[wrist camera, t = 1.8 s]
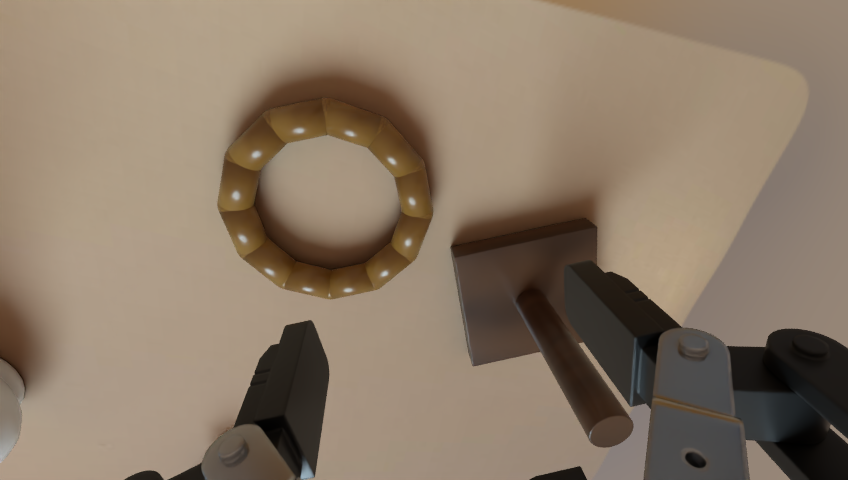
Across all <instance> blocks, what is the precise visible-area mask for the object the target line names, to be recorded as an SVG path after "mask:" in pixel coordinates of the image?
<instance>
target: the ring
mask: <svg viewBox="0 0 848 480" xmlns="http://www.w3.org/2000/svg"><path fill="white" fill-rule="evenodd" d="M324 135H330V136H333V137H336V138H339V139H342V140H345V141H348V142H351V143H354V144H358V145H361V146H364V147H367V148H368V149H369V150H370V151H371V152H372V153H373V154H374V155H375V156H376V157H377V158H378V160H379V161H380V162H381V163H382V164H383V165H384V166H385V167H386V168H387V169H388V170H389V171H390V172H391V173H392V175H393V176H394V177H395V182H396V186H397V191H398V195H399V200H400V204H401V209H402V212H401V215H400V218H399V221H398V223H397V226H396V229H395V232H394V235H393V238H392V241H391V242H390V243H389V244H388V245H386V246H385V247H384V248H383V249H382V250H380V251H379V252H378V253H377V254H376V255H374V256H373V257H372V258H371V259H370V260H368V261H367V262H366V263H362V264H357V265H352V266H348V267H343V268H338V269H334V270H330V269H326V268H322V267H318V266H314V265H309V264H305V263H301V262H297V261H295V260H294V259H293V258H291V257H290V256H289V255H288V254H287V253H285V252H284V251H283V250H282V249H281V248H279V247H278V246H277V245H276V244H275V243H273V242H272V241H271V240H270V239H269V238H267V235H266V233H265V230H264V228H263V225H262V223H261V220H260V218H259V215H258V213H257V210H256V208H255V205H254V202H255V196H256V191H257V186H258V181H259V176H260V171H261V169H262V168H263V167H264V166H265V165H266V164H267V163H268V162H269V161H270V160H271V159H272V158H273V157H274V156H275V155H276V154H277V153H278V152H279V151H280V150H281V149H282V148H283V147H284V146H285V145H286V144H287V143H291V142H295V141H300V140H305V139H310V138H315V137H319V136H324ZM217 205H218V210H219V212H220V214H221V217H222V219H223V221H224V223H225V226H226V228H227V230H228V232H229V235H230V237H231V239H232V241H233V244H234V246H235V248H236V250H237V253H238V254H239V256H240V257H241V258H242V259H244V260H245V261H246V262H247V263H249V264H250V265H251V266H253V267H254V268H255V269H256V270H258V271H259V272H260V273H262V274H263V275H264V276H265V277H267V278H268V279H269V280H271V281H272V282H273V283H274V284H276V285H277V286H278V287H280V288H282V289H285V290H290V291H294V292H299V293H303V294H308V295H312V296H316V297H321V298H325V299H336V298H341V297H346V296H350V295H355V294H360V293H364V292H369V291H373V290H377V289H379V288H381V287H382V286H384V285H385V284H386V283H387V282H388V281H390V280H391V279H392V278H393V277H395V276H396V275H397V274H398V273H400V272H401V271H402V270H403V269H404V268H406V267H407V266H408V265H409V264H411V263H412V262H413V261H414V260H415V259H416V257H417V255H418V253H419V250H420V248H421V245H422V242H423V240H424V237H425V235H426V232H427V229H428V227H429V224H430V222H431V219H432V216H433V206H432V201H431V196H430V190H429V185H428V179H427V174H426V169H425V164H424V161H423V160H422V158H421V157H420V156H419V155H418V154H417V152H416V151H415V150H414V149H413V148H412V147H411V146H410V144H409V143H408V142H407V141H406V140H405V139H404V138H403V136H402V135H401V134H400V133H399V132H398V131H397V130H396V128H395V127H394V126H393V125H392V124H391V123H390V122H389V121H388V120H387V119H386V118H385V117H383V116H381V115H378V114H375V113H372V112H369V111H366V110H363V109H360V108H357V107H355V106H352V105H349V104H346V103H343V102H340V101H337V100H334V99H331V98H320V99H316V100H311V101H306V102H301V103H296V104H291V105H286V106H282V107H277V108H272V109H269V110H266V111H265V112H264V113H263V114H262V115H261V116H260V117H259V118H258V119H257V120H256V121H255V122H254V123H253V124H252V125H251V126H250V127H249V128H248V129H247V130H246V131H245V132H244V133H243V134H242V135H241V136H240V137H239V138H238V139H237V140H236V141H235V142H234V143H233V144H232V145H231V146H230V147H229V148H228V150H227V151H226V153H225V158H224V164H223V170H222V177H221V183H220V190H219V196H218V204H217Z"/></svg>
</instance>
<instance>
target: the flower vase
mask: <svg viewBox="0 0 848 480" xmlns="http://www.w3.org/2000/svg"><path fill="white" fill-rule="evenodd" d="M24 394H25V387H24V383H23V380H22V378H21V377H20V375H19V374H18V372H17V371H16V370H15V369H14V368H13V367H12V366H11V365H10V364H9V363H7V362H6V361H4V360H3V359H1V358H0V463H1V462H2V461H3V460H4V459H5V458H6V457H7V456H8V455H9V453H10V452H11V450H12V449H13V447H14V446H15V444H16V443H17V441H18V439H19V436H20V431H21V423H22V411H21V408H20V404H21V402H22V401H23V399H24Z"/></svg>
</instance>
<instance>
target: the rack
mask: <svg viewBox="0 0 848 480" xmlns="http://www.w3.org/2000/svg"><path fill="white" fill-rule="evenodd" d="M451 254H452V260H453V266H454V271H455V277H456V283H457V289H458V295H459V300H460V306H461V312H462V318H463V324H464V329H465V335H466V341H467V347H468V353H469V356H470V359H471V362H472V366H478V365H482V364H487V363H491V362H496V361H500V360H505V359H509V358H514V357H518V356H523V355H528V354H532V353H537V352H541V353H542V355H543V357H544V358H545V360H546V362H547V364H548V366H549V368H550V369H551V371H552V373H553V375H554V377H555V378H556V380H557V382H558V384H559V386H560V388H561V389H562V391H563V393H564V395H565V397H566V398H567V400H568V402H569V404H570V406H571V408H572V409H573V411H574V413H575V415H576V417H577V418H578V420H579V422H580V424H581V426H582V427H583V429H584V431H585V433H586V435H587V437H588V438H589V440H590V442H591V443H592V444H593V445H595V446H597V447H603V448H605V447H612V446H615V445H618V444H620V443H621V442H623V441H624V440H625V439H627V438H628V437H629V436H630V434H631V433H632V431H633V422H632V420H631V418H630V417H629V416H628V414H627V413H626V411H625V410H624V408H623V407H622V405H621V404H620V403H619V401H618V400H617V398H616V397H615V395H614V394H613V393H612V391H611V390H610V388H609V387H608V385H607V384H606V383H605V381H604V380H603V378H602V377H601V375H600V374H599V372H598V371H597V370H596V368H595V367H594V365H593V364H592V362H591V361H590V360H589V358H588V357H587V355H586V354H585V352H584V351H583V349H582V348H581V347H580V345H579V344H578V343H582V342H583V341H582V339H581V338H580V336H579V335H578V334H577V332H576V331H575V330H574V328H573V327H572V325H571V324H570V322H569V320H568V317H567V314H566V310H565V298H564V267H565V265H568V264H572V263H577V262H582V261H586V260H591V261H593V262H594V263H595V264H596V265H597V227H596V226H595V225H594V224H593V223H591V222H590V221H589V220H588V219H586V218H584V219H579V220H574V221H570V222H565V223H560V224H556V225H551V226H546V227H542V228H537V229H532V230H528V231H523V232H518V233H514V234H509V235H504V236H500V237H495V238H490V239H486V240H481V241H476V242H472V243H467V244H462V245H458V246H453V247H451Z"/></svg>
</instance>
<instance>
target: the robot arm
mask: <svg viewBox="0 0 848 480" xmlns="http://www.w3.org/2000/svg"><path fill="white" fill-rule="evenodd" d="M564 298H565V310H566V314H567V317H568V320H569V322H570V324H571V325H572V327H573V328H574V330H575V331H576V332H577V334H578V335H579V336H580V338H581V339H582V341H583V342H584V343H585V345H586V346H587V347H588V349H589V350H590V352H591V353H592V354H593V356H594V357H595V359H596V360H597V361H598V363H599V364H600V365H601V367H602V368H603V370H604V371H605V372H606V374H607V375H608V376H609V378H610V379H611V381H612V382H613V383H614V385H615V386H616V388H617V389H618V390H619V392H620V393H621V394H622V396H623V397H624V399H625V400H626V401H627V403H628V404H629V405H630V407H632V406H637V405H641V404H645V403H646V404H647V405H648V406H649V408H650V409H651V415H650V424H649V433H648V443H647V452H646V461H645V470H644V479H643V480H750V477H749V468H748V460H747V449H746V440H755V441H756V442H757V443H758V444H759V445H760V446H761V447H762V449H763V450H764V451H765V452H766V453H767V454H768V455H769V456H770V457H771V459H772V460H773V461H774V462H775V463H776V464H777V465H778V466H779V467H780V468H781V470H782V471H783V472H784V473H785V474H786V475H787V476H788V477H789V478H790V480H848V444H847V443H846V442H845V441H844V440H843V439H842V438H841V437H839V436H838V435H837V434H836V433H835V432H834V431H832V429H830V425H831V424H832V425H833V426H834V427H835V428H836V429H837V430H838V431H840V432H841V433H842V434H843V435H844V436H845V437H847V438H848V348H846V347H845V346H843V345H842V344H840V343H838V342H837V341H835V340H833V339H831V338H829V337H827V336H824V335H821V334H819V333H815V332H812V331H807V330H801V329H781V330H777V331H775V332H773V333H771V334H770V335H769V336H768V339H767V343H766V347H735V346H726V345H725V344H724V343H723V342H722V341H721V340H720V339H718V338H716V337H715V336H713V335H711V334H709V333H707V332H704V331H700V330H697V329H692V328H682V327H681V326H680V325H679V324H678V323H677V322H675V321H674V320H673V319H672V318H671V317H670V316H669V315H668V314H666V313H665V312H664V311H663V310H662V309H661V308H660V307H659V306H657V305H656V304H655V303H654V302H653V301H652V300H651V299H648V297H647V296H646V295H645V294H644V293H643V292H642V291H639V289H638V288H637V287H636V286H635V285H634V284H633V283H632V282H630V281H629V280H628V279H627V278H625V277H622V276H620V275H618V274H615V273H613V272H607V273H604V272H603V271H602V270H601V269H600V268H599V267H598V266H597V265H596V264H595V263H594V262H593V261H591V260H586V261H582V262H577V263H572V264H568V265H565V267H564ZM328 382H329V365H328V360H327V357H326V354H325V352H324V349H323V347H322V344H321V341H320V339H319V336H318V333H317V331H316V328H315V326H314V324H313V322H312V321H311V320H309V321H304V322H299V323H295V324H290V325H286V326H285V328H284V331H283V334H282V337H281V340H280V343H279V344H275V345H271V346H270V347H269V348H268V350H267V351H266V352H265V353H264V354H263V356H262V357H261V358H260V360H259V362H258V365H257V367H256V370H255V375H253V378H252V380H251V383H250V385H251V386H250V387H249V388H248V391H247V394H246V396H245V399H244V401H243V404H242V407H241V409H240V412H239V415H238V417H237V420H236V422H235V425H234V428H233V429H231V430H229V431H227V432H226V433H224V434H223V435H221V436H220V437H219V438H218V439H217V440H216V441H214V443H213V444H212V445H211V446H210V447H209V449H208V450H207V452H206V453H205V455H204V458H203V460H202V463H200V464H199V465H197V466H195V467H193V468H191V469H189V470H187V471H185V472H183V473H181V474H179V475H177V476H175V477H173V478H171V479H169V480H305V479H309V478H313V477H315V472H316V465H317V458H318V451H319V444H320V438H321V431H322V424H323V417H324V410H325V403H326V396H327V389H328ZM125 480H164V479H163V478H162V477H161V475H160V474H159V473H158V472H156V471H143V472H139V473H137V474H134V475H132V476H130V477H128V478H126V479H125ZM530 480H587V479H586V477H585V475H584V473H583V471H582V469H581V467H580V466H579V467H574V468H570V469H566V470H561V471H557V472H553V473H548V474H544V475H540V476H535V477H534V478H532V479H530Z"/></svg>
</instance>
